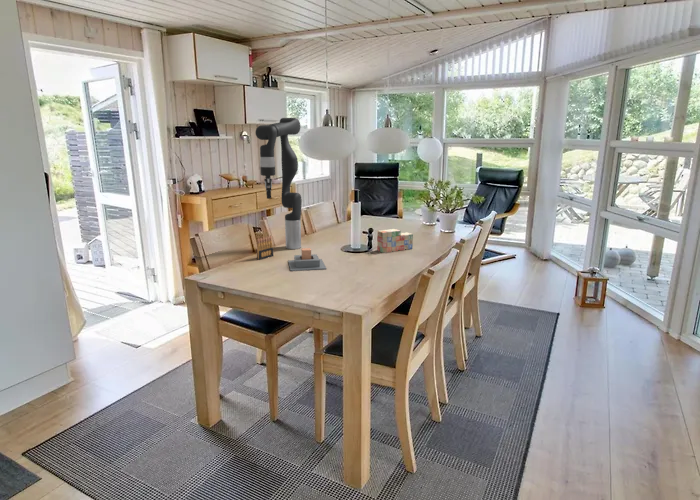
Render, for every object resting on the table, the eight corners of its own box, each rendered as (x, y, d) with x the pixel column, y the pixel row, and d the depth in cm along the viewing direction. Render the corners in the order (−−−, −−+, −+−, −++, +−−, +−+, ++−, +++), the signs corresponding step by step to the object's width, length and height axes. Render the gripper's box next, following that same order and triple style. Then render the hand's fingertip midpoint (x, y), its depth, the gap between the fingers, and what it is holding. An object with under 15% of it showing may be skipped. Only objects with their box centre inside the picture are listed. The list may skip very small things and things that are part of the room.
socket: (288, 261, 237) (288, 254, 236) (321, 260, 240) (321, 252, 239) (290, 271, 220) (290, 263, 219) (326, 269, 223) (326, 261, 222)
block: (301, 263, 232) (301, 248, 230) (310, 262, 233) (310, 248, 231) (302, 265, 227) (302, 250, 226) (311, 265, 228) (311, 250, 226)
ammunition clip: (259, 260, 240) (258, 238, 237) (256, 259, 241) (255, 238, 238) (273, 256, 248) (272, 235, 245) (271, 255, 249) (270, 234, 246)
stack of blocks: (406, 246, 272) (407, 227, 269) (412, 249, 267) (413, 229, 264) (376, 250, 262) (377, 230, 259) (382, 253, 257) (382, 232, 254)
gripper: (275, 166, 220) (276, 199, 224) (274, 165, 233) (275, 195, 237) (260, 166, 218) (261, 199, 222) (260, 165, 232) (261, 196, 236)
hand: (268, 197), depth 230 cm, fingers open, 8 cm apart
